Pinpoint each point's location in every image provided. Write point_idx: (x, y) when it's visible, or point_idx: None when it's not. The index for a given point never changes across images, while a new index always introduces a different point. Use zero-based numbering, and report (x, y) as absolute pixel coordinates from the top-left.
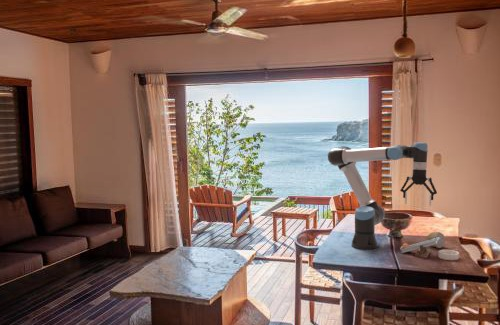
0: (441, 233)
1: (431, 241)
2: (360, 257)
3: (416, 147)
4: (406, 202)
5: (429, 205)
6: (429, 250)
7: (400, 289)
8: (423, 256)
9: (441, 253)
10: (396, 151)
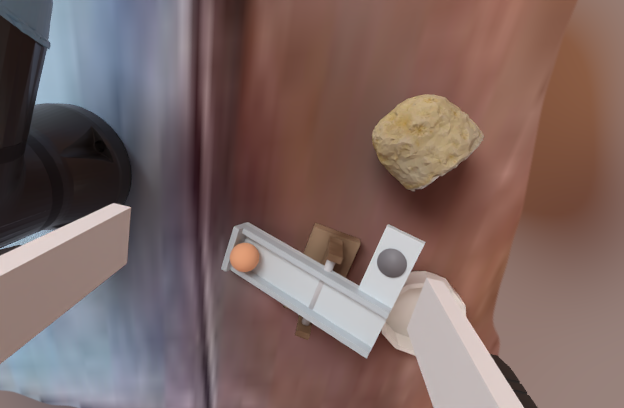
0: (468, 155)
1: (349, 345)
2: (81, 325)
3: None
4: (123, 222)
5: (409, 332)
6: (354, 255)
7: None
8: None
9: (385, 336)
10: None
